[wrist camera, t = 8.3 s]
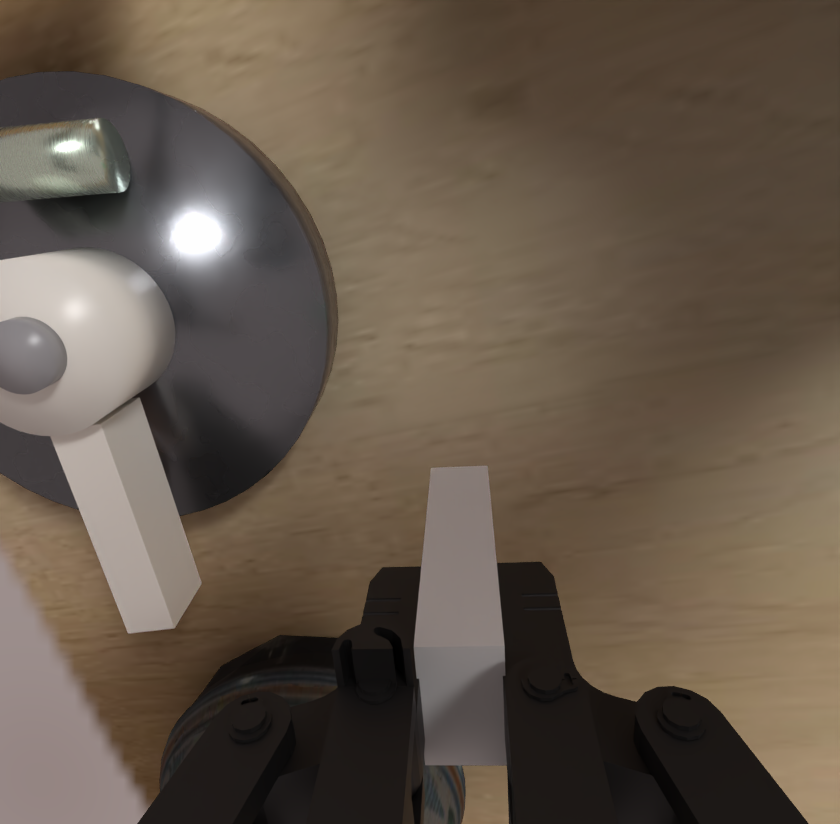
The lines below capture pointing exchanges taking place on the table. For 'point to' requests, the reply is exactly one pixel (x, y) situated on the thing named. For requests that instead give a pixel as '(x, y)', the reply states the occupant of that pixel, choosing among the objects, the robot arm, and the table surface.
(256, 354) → the base
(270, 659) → the beer stein
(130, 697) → the table surface
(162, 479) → the knob
